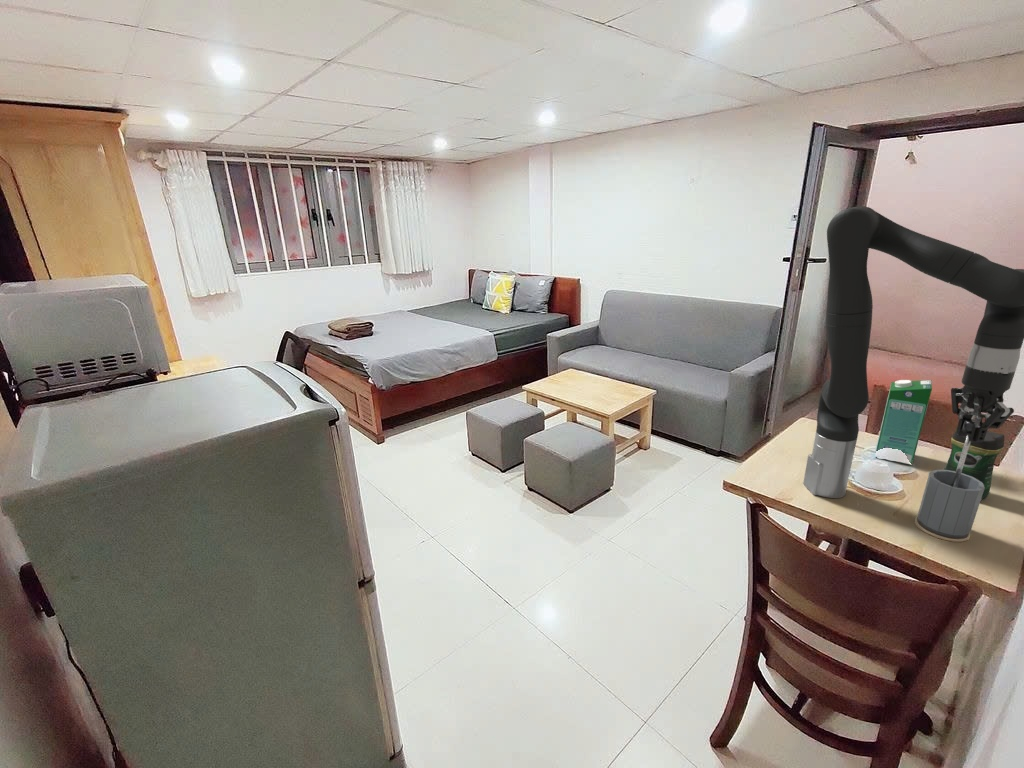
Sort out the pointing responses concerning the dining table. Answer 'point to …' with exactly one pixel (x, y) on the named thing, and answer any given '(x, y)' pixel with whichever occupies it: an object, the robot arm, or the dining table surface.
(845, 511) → the dining table surface
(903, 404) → the milk carton
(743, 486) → the dining table surface
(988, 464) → the coffee jar
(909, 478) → the dining table surface
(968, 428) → the plunger
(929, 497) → the press carafe
